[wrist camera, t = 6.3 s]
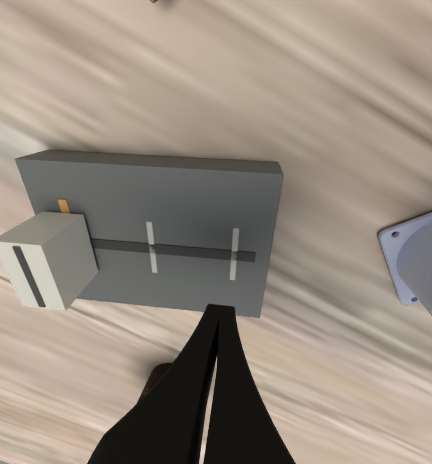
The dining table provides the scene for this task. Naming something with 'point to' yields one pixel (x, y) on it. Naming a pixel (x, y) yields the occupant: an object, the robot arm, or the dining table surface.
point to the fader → (48, 259)
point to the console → (165, 224)
